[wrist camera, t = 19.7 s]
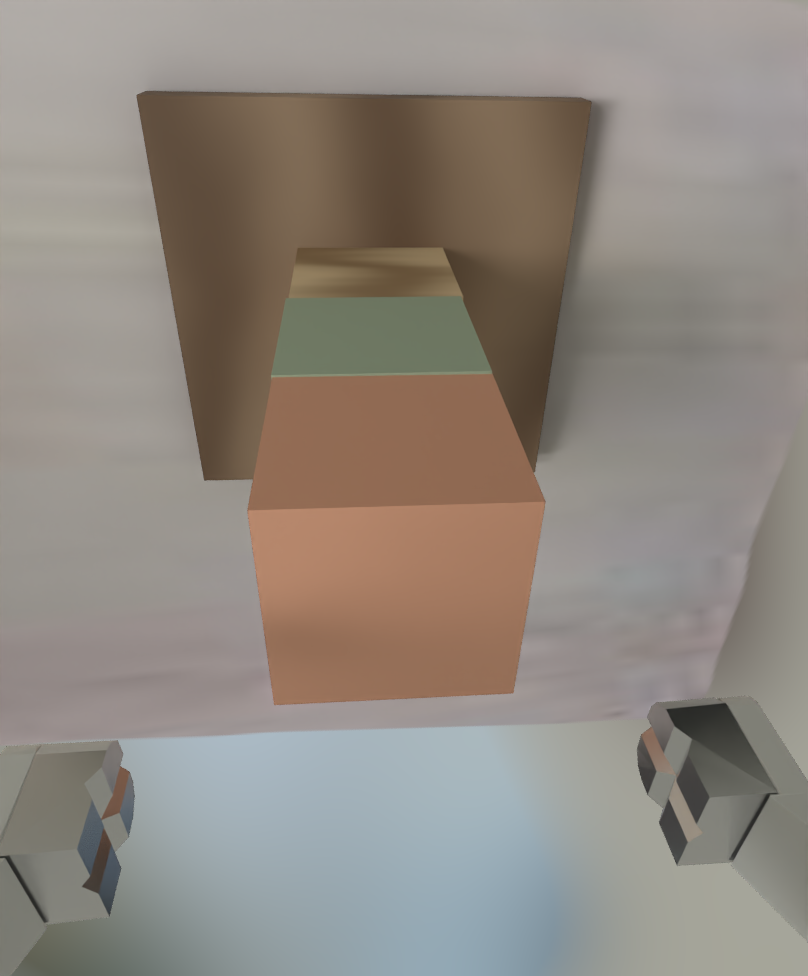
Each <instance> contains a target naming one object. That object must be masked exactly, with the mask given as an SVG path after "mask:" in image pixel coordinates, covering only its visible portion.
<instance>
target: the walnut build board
mask: <svg viewBox="0 0 808 976" xmlns="http://www.w3.org/2000/svg"><path fill="white" fill-rule="evenodd" d="M137 101H138V107H139V112H140V118H141V124H142V130H143V135H144V141H145V147H146V152H147V158H148V164H149V169H150V175H151V181H152V186H153V192H154V198H155V203H156V209H157V215H158V220H159V226H160V232H161V237H162V243H163V249H164V254H165V260H166V266H167V271H168V277H169V283H170V288H171V294H172V300H173V305H174V311H175V317H176V323H177V328H178V334H179V340H180V345H181V351H182V357H183V362H184V368H185V374H186V379H187V385H188V391H189V396H190V402H191V408H192V413H193V419H194V425H195V430H196V436H197V442H198V447H199V453H200V459H201V464H202V470H203V476H204V480H243V479H253V478H254V472H255V467H256V462H257V456H258V451H259V445H260V440H261V435H262V429H263V424H264V419H265V413H266V408H267V403H268V397H269V392H270V387H271V381H272V379H271V373H272V368H273V363H274V357H275V352H276V347H277V342H278V336H279V331H280V326H281V321H282V316H283V310H284V305H285V300H286V298H344V297H431V296H461V298H462V300H463V302H464V305H465V307H466V310H467V312H468V314H469V317H470V319H471V322H472V324H473V326H474V329H475V331H476V334H477V336H478V339H479V341H480V343H481V346H482V348H483V351H484V353H485V355H486V358H487V360H488V363H489V365H490V367H491V370H492V374H493V376H494V379H495V381H496V383H497V386H498V388H499V391H500V393H501V395H502V398H503V400H504V403H505V405H506V408H507V410H508V412H509V415H510V417H511V420H512V422H513V424H514V427H515V429H516V432H517V434H518V437H519V439H520V441H521V444H522V446H523V449H524V451H525V453H526V456H527V458H528V461H529V463H530V466H531V468H532V470H533V472H535V467H536V461H537V454H538V448H539V441H540V435H541V428H542V422H543V415H544V409H545V402H546V396H547V389H548V383H549V376H550V370H551V363H552V357H553V350H554V344H555V337H556V331H557V324H558V318H559V311H560V305H561V298H562V292H563V285H564V279H565V272H566V266H567V259H568V253H569V246H570V240H571V233H572V227H573V220H574V214H575V207H576V201H577V194H578V188H579V181H580V175H581V168H582V162H583V155H584V149H585V142H586V136H587V129H588V123H589V116H590V110H591V103H592V102H591V101H588V100H586V99H583V98H564V97H498V96H432V95H366V94H300V93H233V92H167V91H145V92H143V93H140V94H138V95H137Z"/></svg>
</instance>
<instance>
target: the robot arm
mask: <svg viewBox="0 0 808 976" xmlns="http://www.w3.org/2000/svg"><path fill="white" fill-rule="evenodd" d="M647 718H648V720H649V722H650V724H651V726H652V727H650V728H649V729H648V730H647V731H645V732H644V733H643V734H641V737H640V740H639V744H638V747H637V756H638V767H639V772H640V776H641V779H642V782H643V785H644V787H645V790H646V792H647V795H648V796H649V797H651V798H652V799H653V800H654V801H655V802H656V803H657V804H659V805H660V806H661V807H662V808H663V810H662V814H661V817H660V821H659V824H660V826H661V829H662V831H663V833H664V836H665V838H666V840H667V843H668V845H669V848H670V850H671V852H672V855H673V857H674V860H675V862H676V864H677V866H680V865H695V864H712V863H728V862H732V864H731V866H732V867H733V868H734V869H735V870H736V871H737V872H738V873H739V874H740V875H741V876H742V877H743V878H744V879H745V880H746V881H747V882H748V883H749V884H750V885H751V886H752V887H753V888H754V889H755V890H756V891H757V892H758V893H759V894H760V895H761V896H762V897H763V898H764V899H765V900H766V901H767V902H768V903H769V904H770V905H771V906H772V907H773V908H774V909H775V910H776V911H777V912H778V913H779V914H780V915H781V916H782V917H783V918H784V919H785V920H786V921H787V922H788V923H789V924H790V925H791V926H792V927H793V928H794V929H795V930H796V931H797V932H798V933H799V934H800V935H801V936H802V937H803V938H804V939H805V940H806V941H807V942H808V781H807V779H806V777H805V776H804V774H803V773H802V771H801V770H800V768H799V767H798V765H797V763H796V762H795V760H794V759H793V757H792V756H791V754H790V753H789V751H788V749H787V748H786V746H785V745H784V743H783V741H782V740H781V738H780V737H779V735H778V734H777V732H776V730H775V729H774V727H773V726H772V724H771V723H770V721H769V720H768V718H767V716H766V715H765V713H764V712H763V710H762V708H761V707H760V705H759V704H758V702H757V701H755V700H754V699H753V698H752V697H750V696H738V697H728V698H717V699H716V698H702V699H691V700H679V701H667V702H657V703H655V704H654V705H653V706H651V708H650V711H649V714H648V716H647ZM122 757H123V752H122V750H121V747H120V745H119V742H118V740H115V741H97V742H78V743H59V744H36V745H21V746H6V748H5V749H4V750H3V751H2V752H1V754H0V976H11V975H12V973H13V972H14V971H15V969H16V968H17V967H18V965H19V964H20V963H21V962H22V960H23V959H24V958H25V956H26V955H27V953H28V952H29V951H30V950H31V948H32V947H33V946H34V945H35V943H36V942H37V941H38V939H39V938H40V937H41V936H42V934H43V933H44V932H45V930H46V929H47V927H46V924H54V923H63V922H71V921H80V920H88V919H97V918H104V917H110V913H111V909H112V905H113V901H114V896H115V892H116V888H117V884H118V880H119V876H120V872H121V866H120V864H119V861H118V859H117V856H116V854H115V851H117V849H118V848H119V847H120V846H121V845H122V844H123V843H124V842H125V840H127V838H128V837H129V833H130V829H131V824H132V820H133V812H134V797H135V795H134V786H133V780H132V777H131V774H130V772H129V771H127V770H126V769H124V768H122V767H121V766H120V765H121V761H122Z"/></svg>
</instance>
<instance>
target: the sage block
mask: <svg viewBox="0 0 808 976" xmlns="http://www.w3.org/2000/svg"><path fill="white" fill-rule="evenodd" d="M453 374H492V370H491V367H490V365H489V363H488V360H487V358H486V355H485V353H484V351H483V348H482V346H481V343H480V341H479V339H478V336H477V334H476V331H475V329H474V326H473V324H472V322H471V319H470V317H469V314H468V312H467V310H466V307H465V305H464V302H463V300H462V298H461V296H431V297H344V298H286V300H285V305H284V310H283V316H282V321H281V326H280V331H279V336H278V342H277V347H276V352H275V357H274V363H273V368H272V373H271V379H272V377H321V376H387V375H453Z"/></svg>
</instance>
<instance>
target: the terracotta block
mask: <svg viewBox="0 0 808 976" xmlns="http://www.w3.org/2000/svg"><path fill="white" fill-rule="evenodd" d="M544 508H545V499H544V497H543V495H542V492H541V490H540V487H539V485H538V482H537V480H536V478H535V475H534V473H533V470H532V468H531V466H530V463H529V461H528V458H527V456H526V453H525V451H524V449H523V446H522V444H521V441H520V439H519V437H518V434H517V432H516V429H515V427H514V424H513V422H512V420H511V417H510V415H509V412H508V410H507V408H506V405H505V403H504V400H503V398H502V395H501V393H500V391H499V388H498V386H497V383H496V381H495V379H494V376H493V374H453V375H387V376H321V377H272V381H271V387H270V392H269V397H268V403H267V408H266V413H265V419H264V424H263V429H262V435H261V440H260V445H259V451H258V456H257V462H256V467H255V472H254V478H253V483H252V488H251V494H250V499H249V504H248V510H247V511H248V519H249V526H250V533H251V540H252V548H253V555H254V562H255V569H256V577H257V584H258V591H259V598H260V606H261V613H262V620H263V627H264V635H265V642H266V649H267V656H268V664H269V671H270V678H271V685H272V693H273V700H274V705H285V704H305V703H325V702H346V701H366V700H386V699H407V698H427V697H447V696H468V695H488V694H508V693H513V692H514V686H515V680H516V674H517V668H518V662H519V656H520V650H521V644H522V638H523V632H524V627H525V621H526V615H527V609H528V603H529V597H530V591H531V585H532V579H533V573H534V567H535V561H536V555H537V549H538V543H539V538H540V532H541V526H542V520H543V514H544Z"/></svg>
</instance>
